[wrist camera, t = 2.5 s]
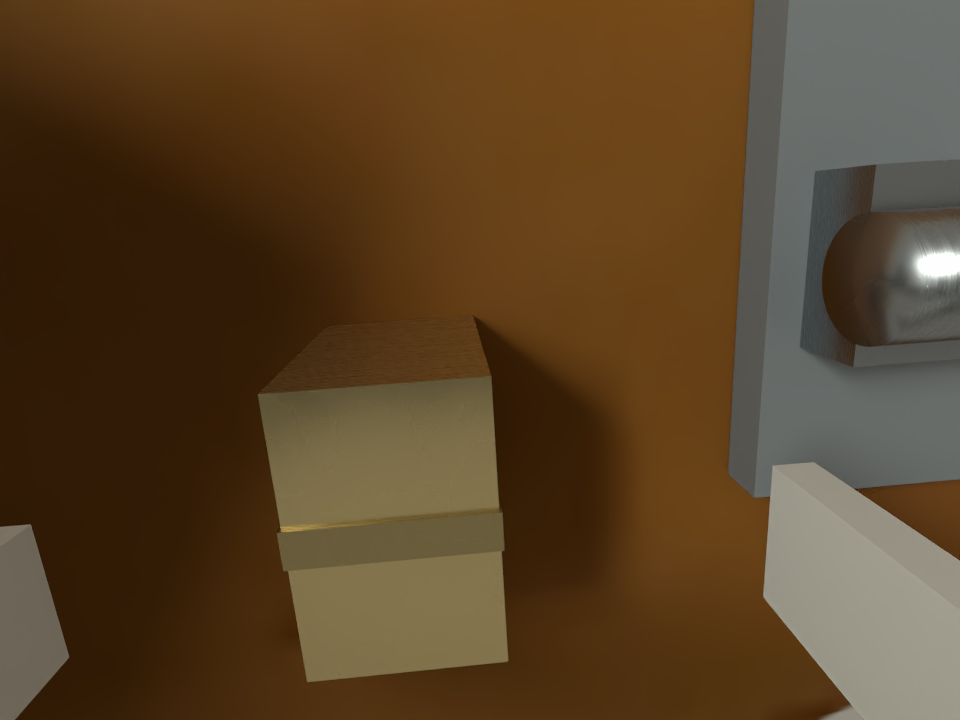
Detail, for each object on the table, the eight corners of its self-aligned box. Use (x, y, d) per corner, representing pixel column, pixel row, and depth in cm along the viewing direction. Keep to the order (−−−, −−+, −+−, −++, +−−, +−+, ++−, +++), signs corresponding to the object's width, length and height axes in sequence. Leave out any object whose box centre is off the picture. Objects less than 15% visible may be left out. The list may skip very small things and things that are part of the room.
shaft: (764, 349, 15) (903, 409, 10) (776, 173, 14) (938, 154, 9) (965, 334, 15) (1184, 385, 11) (993, 159, 14) (1253, 135, 9)
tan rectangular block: (487, 509, 17) (511, 665, 11) (351, 521, 17) (303, 686, 11) (474, 315, 16) (494, 377, 10) (325, 325, 15) (252, 396, 10)
